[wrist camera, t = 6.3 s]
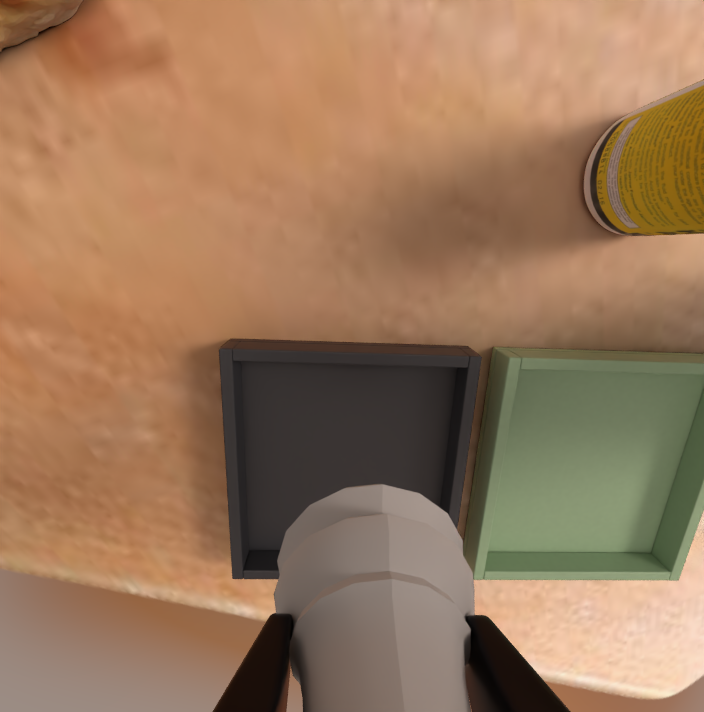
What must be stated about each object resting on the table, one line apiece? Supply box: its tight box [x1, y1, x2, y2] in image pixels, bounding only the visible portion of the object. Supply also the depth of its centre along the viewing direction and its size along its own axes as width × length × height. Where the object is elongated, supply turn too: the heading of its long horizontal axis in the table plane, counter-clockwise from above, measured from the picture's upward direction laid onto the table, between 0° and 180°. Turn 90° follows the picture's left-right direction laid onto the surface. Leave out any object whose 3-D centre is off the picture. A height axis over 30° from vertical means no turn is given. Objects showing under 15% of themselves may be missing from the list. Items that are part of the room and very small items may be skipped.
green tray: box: [463, 347, 704, 580], centre depth 21 cm, size 12×13×2 cm
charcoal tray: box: [219, 339, 482, 579], centre depth 20 cm, size 12×13×2 cm
